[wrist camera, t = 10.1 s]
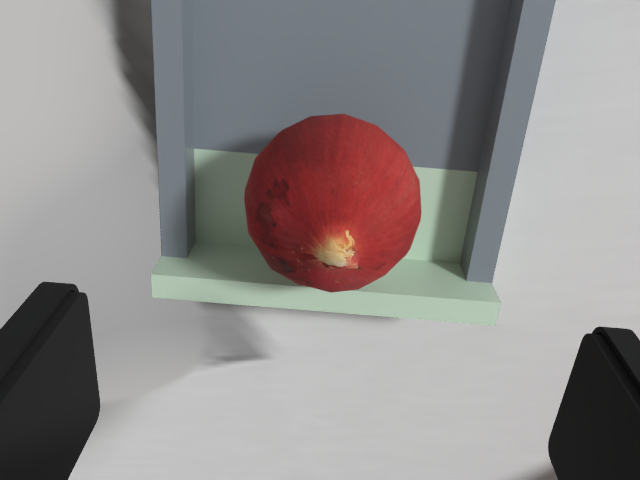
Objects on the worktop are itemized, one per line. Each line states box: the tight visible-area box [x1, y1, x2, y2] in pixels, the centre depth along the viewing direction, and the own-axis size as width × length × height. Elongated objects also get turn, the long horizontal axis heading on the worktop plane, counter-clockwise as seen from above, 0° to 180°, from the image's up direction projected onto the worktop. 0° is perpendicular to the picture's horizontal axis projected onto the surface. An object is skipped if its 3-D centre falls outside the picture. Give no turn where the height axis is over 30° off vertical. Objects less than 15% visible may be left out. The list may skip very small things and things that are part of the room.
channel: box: [151, 0, 556, 326], centre depth 20 cm, size 19×13×4 cm
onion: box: [244, 114, 421, 293], centre depth 20 cm, size 6×6×8 cm
